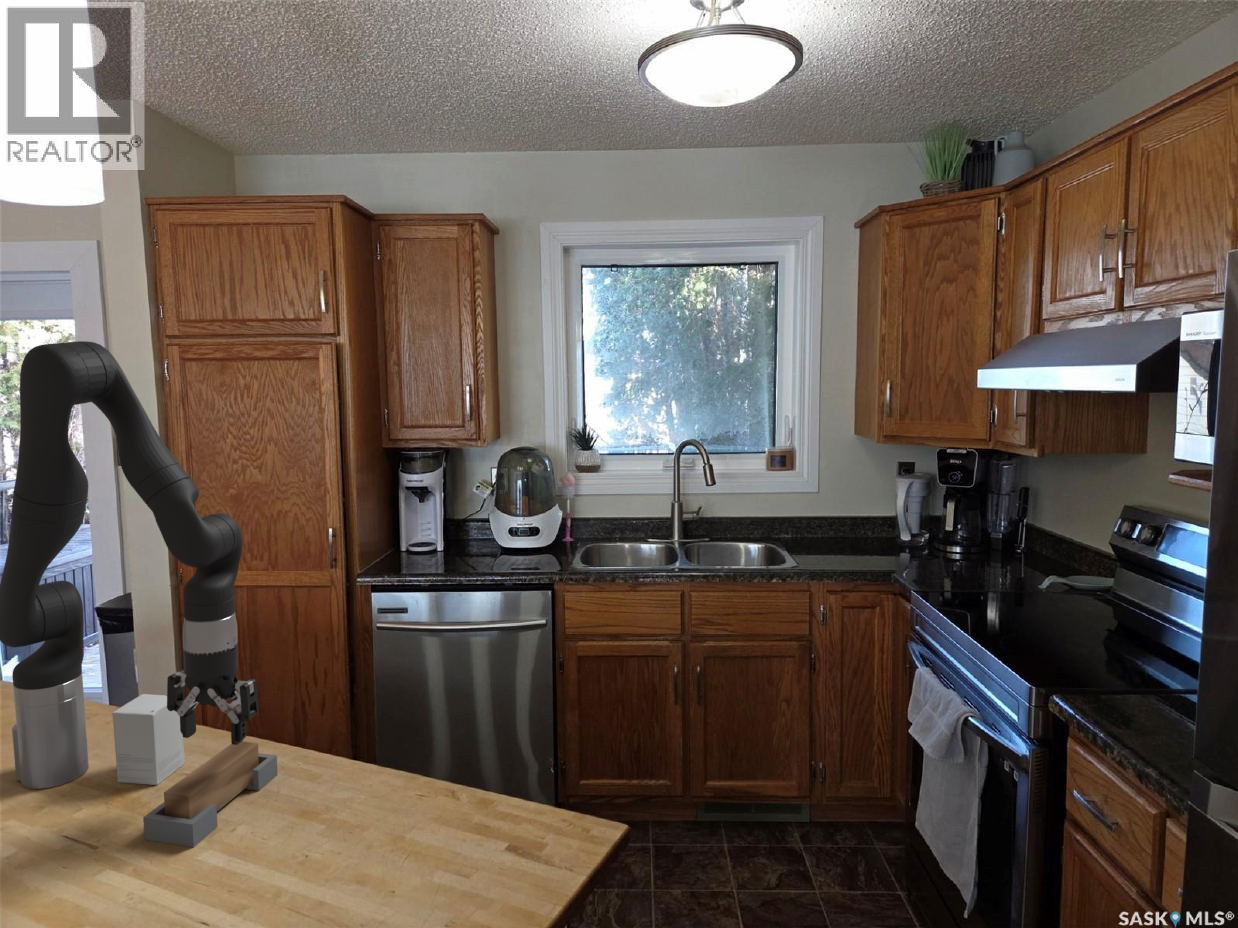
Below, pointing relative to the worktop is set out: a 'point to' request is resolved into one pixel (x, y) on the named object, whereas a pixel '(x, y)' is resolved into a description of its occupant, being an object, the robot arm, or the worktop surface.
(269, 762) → the endcap
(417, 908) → the worktop surface
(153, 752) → the supplement box
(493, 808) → the worktop surface
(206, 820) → the endcap
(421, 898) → the worktop surface
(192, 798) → the brown wooden bar
